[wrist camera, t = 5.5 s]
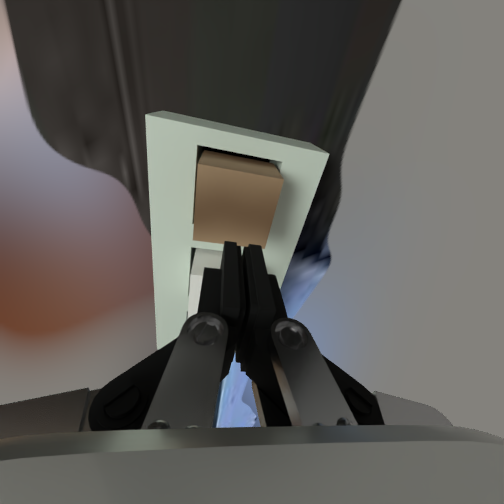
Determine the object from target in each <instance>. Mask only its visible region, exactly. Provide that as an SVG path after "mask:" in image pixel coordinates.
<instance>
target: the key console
mask: <svg viewBox="0 0 504 504" xmlns="http://www.w3.org/2000/svg"><path fill="white" fill-rule="evenodd" d="M145 117H146V137H147V157H148V177H149V196H150V216H151V236H152V256H153V276H154V296H155V316H156V336H157V349H161V348H162V347H164V346H165V345H167V344H168V343H170V342H171V341H173V340H174V339H176V338H177V337H178V336H179V334H180V331H181V329H182V326H183V324H184V323H185V321H186V320H187V319H188V304H189V289H190V274H191V270H192V265H193V260H194V256H195V248H202V249H210V250H219V251H223V247H224V244H218V243H210V242H202V241H194V240H193V228H194V213H195V198H196V183H197V168H198V162H199V160H200V158H201V156H202V151H203V146H206V147H211V148H216V149H221V150H226V151H231V152H236V153H241V154H246V155H251V156H256V157H261V158H266V159H270V162H269V163H273V164H274V165H275V167H276V168H277V170H278V171H279V173H280V174H281V176H282V177H283V179H284V182H283V185H282V189H281V192H280V196H279V200H278V203H277V207H276V210H275V214H274V218H273V221H272V225H271V228H270V232H269V236H268V239H267V243H266V246H265V249H262V251H263V255H264V260H265V264H266V268H267V273H268V274H273V275H276V278H277V281H278V285H279V288H281V285H282V283H283V280H284V277H285V274H286V272H287V269H288V266H289V263H290V261H291V258H292V255H293V253H294V250H295V247H296V244H297V242H298V239H299V236H300V233H301V231H302V228H303V225H304V222H305V220H306V217H307V214H308V211H309V209H310V206H311V203H312V200H313V198H314V195H315V192H316V190H317V187H318V184H319V181H320V179H321V176H322V173H323V170H324V168H325V165H326V162H327V159H328V157H329V153H327V152H325V151H324V150H322V149H320V148H318V147H316V146H315V145H313V144H311V143H308V142H304V141H299V140H294V139H290V138H285V137H281V136H276V135H272V134H267V133H263V132H258V131H254V130H249V129H245V128H240V127H235V126H231V125H226V124H222V123H217V122H213V121H208V120H204V119H199V118H195V117H190V116H185V115H181V114H176V113H172V112H167V111H159V112H155V113H150V114H145ZM243 248H244V247H242V246H241V253H243Z"/></svg>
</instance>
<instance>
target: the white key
mask: <svg viewBox="0 0 504 504" xmlns="http://www.w3.org/2000/svg"><path fill="white" fill-rule="evenodd" d="M222 253H223V251H219V250H210V249H202V248H196V251H195V256H194V260H193V265H192V270H191V274H190V289H189V304H188V318H189V317H190V316H192V315H194V314H196V313H197V311H198V305H199V298H200V292H201V285H202V279H203V272H204V267H207V268H217V269H220V266H221V260H222Z"/></svg>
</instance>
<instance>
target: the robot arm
mask: <svg viewBox="0 0 504 504" xmlns="http://www.w3.org/2000/svg"><path fill="white" fill-rule="evenodd" d="M235 353H236V362H237V363H241V371H244V372H246V375H247V376H248V377H249V378H250V379H251V380H252V389H253V394H254V398H255V403H256V407H257V412H258V416H259V421H260V425H261V427H235V428H211V427H212V422H213V416H214V411H215V405H216V400H217V394H218V389H219V383H220V382H221V381H222V380H223V379H224V378H225V377H226V376H227V375H228V374H229V370H230V366H231V362H232V361H233V358H234V354H235ZM0 504H504V439H503V438H501V437H498V436H495V435H492V434H489V433H486V432H482V431H479V430H475V429H469V428H463V427H455V426H453V425H452V424H451V422H450V421H449V420H448V419H447V418H446V417H445V416H444V415H443V414H442V413H440V412H439V411H438V410H436V409H435V408H433V407H431V406H428V405H425V404H422V403H418V402H414V401H410V400H406V399H403V398H399V397H396V396H392V395H388V394H384V393H381V392H377V391H374V392H373V393H370V392H369V391H368V390H367V389H366V388H365V387H364V386H363V385H361V384H360V383H359V382H357V381H356V380H355V379H353V378H352V377H351V376H349V375H348V374H347V373H346V372H344V371H343V370H342V369H340V368H339V367H338V366H336V365H335V364H334V363H332V362H331V361H329V360H328V359H327V358H326V357H324V356H323V355H322V354H321V353H320V351H319V349H318V347H317V345H316V343H315V341H314V339H313V337H312V335H311V333H310V332H309V330H308V329H307V328H306V327H305V326H304V325H303V324H302V323H300V322H299V321H297V320H295V319H291V318H288V317H287V313H286V310H285V306H284V303H283V299H282V295H281V292H280V288H279V285H278V281H277V278H276V275H273V274H268V273H267V268H266V264H265V260H264V255H263V251H262V247H261V245H254V244H249V245H248V247H245V246H244V248H243V253H241V246H237V242H230V241H224V247H223V253H222V260H221V266H220V269H217V268H207V267H204V272H203V279H202V285H201V292H200V298H199V305H198V311H197V313H196V314H194V315H192V316H190V317H189V318H188V319H187V320H186V321H185V323H184V324H183V326H182V329H181V331H180V334H179V336H178V337H177V338H176V339H174V340H173V341H171V342H170V343H168V344H167V345H165V346H164V347H162V348H161V349H159V350H157V351H156V352H155V353H153V354H151V355H150V356H148V357H147V358H145V359H144V360H142V361H141V362H139V363H138V364H136V365H135V366H133V367H132V368H130V369H129V370H127V371H126V372H124V373H123V374H121V375H119V376H118V377H116V378H115V379H113V380H112V381H110V382H109V383H108V384H107V385H105V386H104V387H103V388H101V389H96V390H91V391H90V390H89V388H84V389H79V390H74V391H69V392H63V393H59V394H53V395H49V396H43V397H39V398H34V399H28V400H23V401H18V402H13V403H8V404H4V405H0Z"/></svg>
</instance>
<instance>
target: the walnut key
mask: <svg viewBox="0 0 504 504" xmlns="http://www.w3.org/2000/svg"><path fill="white" fill-rule="evenodd" d="M283 182H284V179H283V177H282V176H281V174H280V173H279V171H278V170H277V168H276V167H275V165H274V164H273V163H268V162H263V161H258V160H253V159H248V158H243V157H238V156H232V155H227V154H222V153H217V152H212V151H207V150H204V151H203V154H202V156H201V158H200V160H199V162H198V168H197V183H196V198H195V213H194V228H193V240H194V241H202V242H210V243H218V244H224V241H230V242H237V246H242V247H244V246H245V247H248V245H249V244H254V245H261V247H262V249H265V246H266V243H267V239H268V236H269V232H270V228H271V225H272V221H273V218H274V214H275V210H276V207H277V203H278V200H279V196H280V192H281V189H282V185H283Z"/></svg>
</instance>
